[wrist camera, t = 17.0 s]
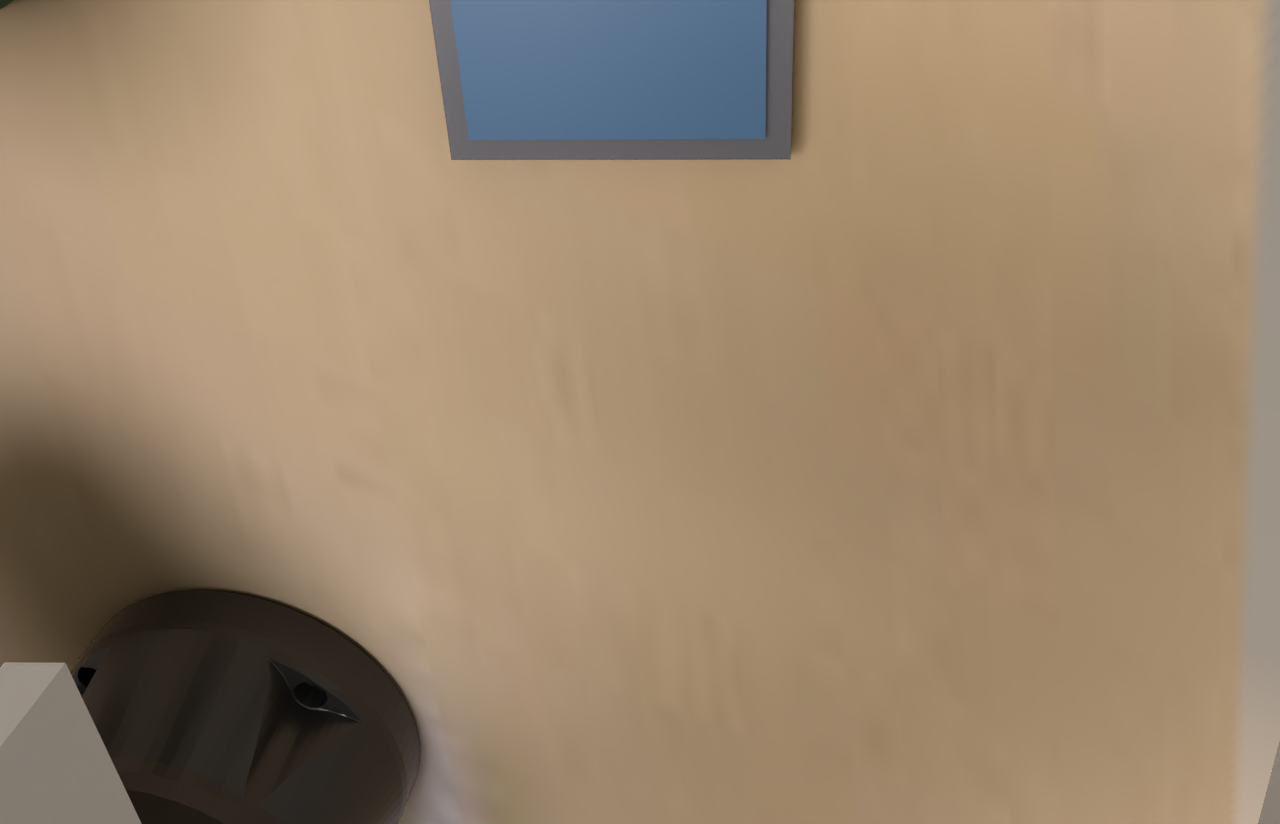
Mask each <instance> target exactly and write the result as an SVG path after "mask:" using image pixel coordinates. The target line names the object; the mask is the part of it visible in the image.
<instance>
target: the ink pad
mask: <svg viewBox="0 0 1280 824" xmlns="http://www.w3.org/2000/svg"><path fill="white" fill-rule="evenodd" d="M429 3H430V11H431V18H432V25H433V32H434V39H435V46H436V53H437V60H438V67H439V74H440V82H441V89H442V96H443V103H444V110H445V117H446V124H447V131H448V138H449V145H450V152H451V160H697V159H790V157H791V140H792V93H793V46H794V0H429Z"/></svg>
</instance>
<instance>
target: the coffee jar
mask: <svg viewBox="0 0 1280 824" xmlns="http://www.w3.org/2000/svg"><path fill="white" fill-rule="evenodd" d="M13 1H14V0H0V9H1V8H3V7H5V6H7V5H8V4H10V3H11V2H13Z"/></svg>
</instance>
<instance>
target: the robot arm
mask: <svg viewBox="0 0 1280 824" xmlns="http://www.w3.org/2000/svg"><path fill="white" fill-rule="evenodd" d="M419 762H420V743H419V737H418V732H417V728H416V725H415V722H414V719H413V717H412V714H411V712H410V710H409V708H408V706H407V704H406V702H405V700H404V699H403V697H402V695H401V694H400V692H399V691H398V689H397V688H396V687H395V685H394V684H393V683H392V681H391V680H390V679H389V678H388V676H387V675H386V674H385V673H384V672H383V671H382V670H381V668H380V667H379V666H378V665H377V664H376V663H375V662H374V661H373V660H371V659H370V658H369V657H368V656H367V655H366V654H365V653H364V652H362V651H361V650H360V649H359V648H357V647H356V646H355V645H354V644H352V643H351V642H350V641H348V640H347V639H345V638H344V637H343V636H341V635H340V634H338V633H336V632H335V631H333V630H332V629H330V628H328V627H327V626H325V625H323V624H321V623H319V622H318V621H316V620H314V619H312V618H310V617H308V616H306V615H304V614H301V613H299V612H297V611H294V610H292V609H289V608H287V607H284V606H281V605H279V604H276V603H272V602H269V601H266V600H262V599H259V598H255V597H251V596H246V595H241V594H235V593H228V592H219V591H199V590H198V591H181V592H172V593H167V594H162V595H158V596H154V597H150V598H148V599H145V600H142V601H140V602H137V603H135V604H133V605H131V606H129V607H127V608H126V609H124V610H122V611H121V612H120V613H118V614H117V615H116V616H114V617H113V618H112V619H111V620H110V621H109V622H108V623H107V624H106V625H105V626H104V627H103V629H102V630H101V631H100V633H99V634H98V635H97V636H96V638H95V639H94V640H93V642H92V643H91V644H90V645H89V647H88V648H87V649H86V651H85V652H84V653H83V655H82V656H81V657H80V658H79V660H78V661H77V663H76V664H75V666H74V668H73V670H72V671H71V673H70V671H69V669H68V667H67V665H66V663H24V662H4V664H3V665H2V666H1V667H0V824H397V823H398V821H399V819H400V817H401V815H402V812H403V810H404V807H405V805H406V802H407V800H408V797H409V794H410V792H411V789H412V787H413V784H414V781H415V779H416V776H417V772H418V768H419ZM1258 824H1280V742H1279V746H1278V750H1277V754H1276V758H1275V761H1274V766H1273V769H1272V773H1271V777H1270V781H1269V784H1268V788H1267V792H1266V796H1265V800H1264V803H1263V807H1262V811H1261V815H1260V819H1259V823H1258Z"/></svg>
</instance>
